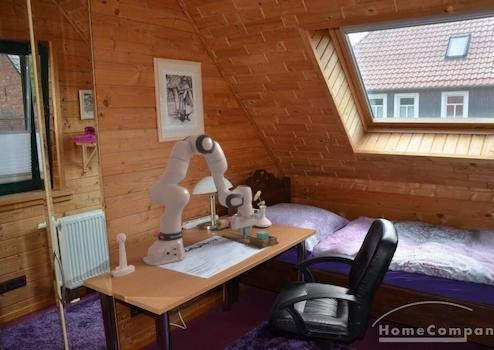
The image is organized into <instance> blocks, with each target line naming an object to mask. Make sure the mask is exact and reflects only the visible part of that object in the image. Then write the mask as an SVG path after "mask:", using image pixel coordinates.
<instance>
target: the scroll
mask: <svg viewBox="0 0 494 350" xmlns="http://www.w3.org/2000/svg"><path fill="white" fill-rule="evenodd" d="M231 220H232V216H228V217H225V218H221V219H218V220H216V221H215V225H216V229H218V230H221V229H225V228H226V227H228V228H227V229H232V228H231Z"/></svg>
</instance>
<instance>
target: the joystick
mask: <svg viewBox="0 0 494 350" xmlns="http://www.w3.org/2000/svg"><path fill="white" fill-rule="evenodd" d="M126 239H127V236H126V234H125V233H123V232H121V233H118V234H117V235H116V241H117V242H118V243H119V245H118V247H119V248H118V249H119V250H118V251H119V255H118V257H119V259H118V260H119V261H118V262H119V266H116V267H115V269H114V270H111V271H110V273H111V274H110V275H111V276H113V278H118V277H122V276H126V275H129V274H131V273H133V272H135V271H136V270H135V269H136V268H135V265H132V264H129V265H128V262H127V261H128V260H127V254H126V246H125V242H126Z"/></svg>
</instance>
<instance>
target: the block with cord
mask: <svg viewBox="0 0 494 350" xmlns="http://www.w3.org/2000/svg"><path fill="white" fill-rule="evenodd" d="M243 232H244V235H242V238H245V239H246V238H249V237H251V238H255V237H252V236H250V234H251V230H250V228H249V227H245V228H243ZM255 234H256V236H257V238H255V239H258V240H262V241H264V240H267V239H269V235H270V234H269V232H268V231H264V230H261V231H258V232H257V231H256V233H255Z"/></svg>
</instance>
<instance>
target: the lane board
mask: <svg viewBox="0 0 494 350" xmlns="http://www.w3.org/2000/svg"><path fill="white" fill-rule="evenodd" d="M250 236H252V237H255V238H257V236H256V235H255V234H252V233H250ZM224 237H225V239H229V240H231V239H232V240H231V241H234V240H235V241H234V242H237V241H239V242H238V243H240V242H241V244H243V243H245V244H244V245H246V244H248V245H247V246H250V245H251V246H250V247H253V246H254V247H253V248H257V249H260V250H262V249H266V248H269V247H273V246H275V245H276V246H277V245H279V241H278V237H277V236H274V235H270V234H269V239H267V240H264V241H262V240H258V239H255V238H251V237H249V238H246V239H245V238H242V235H241V232H240V230H235V231H233V232H229V233H225V234H222V235H221V238H224Z"/></svg>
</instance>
